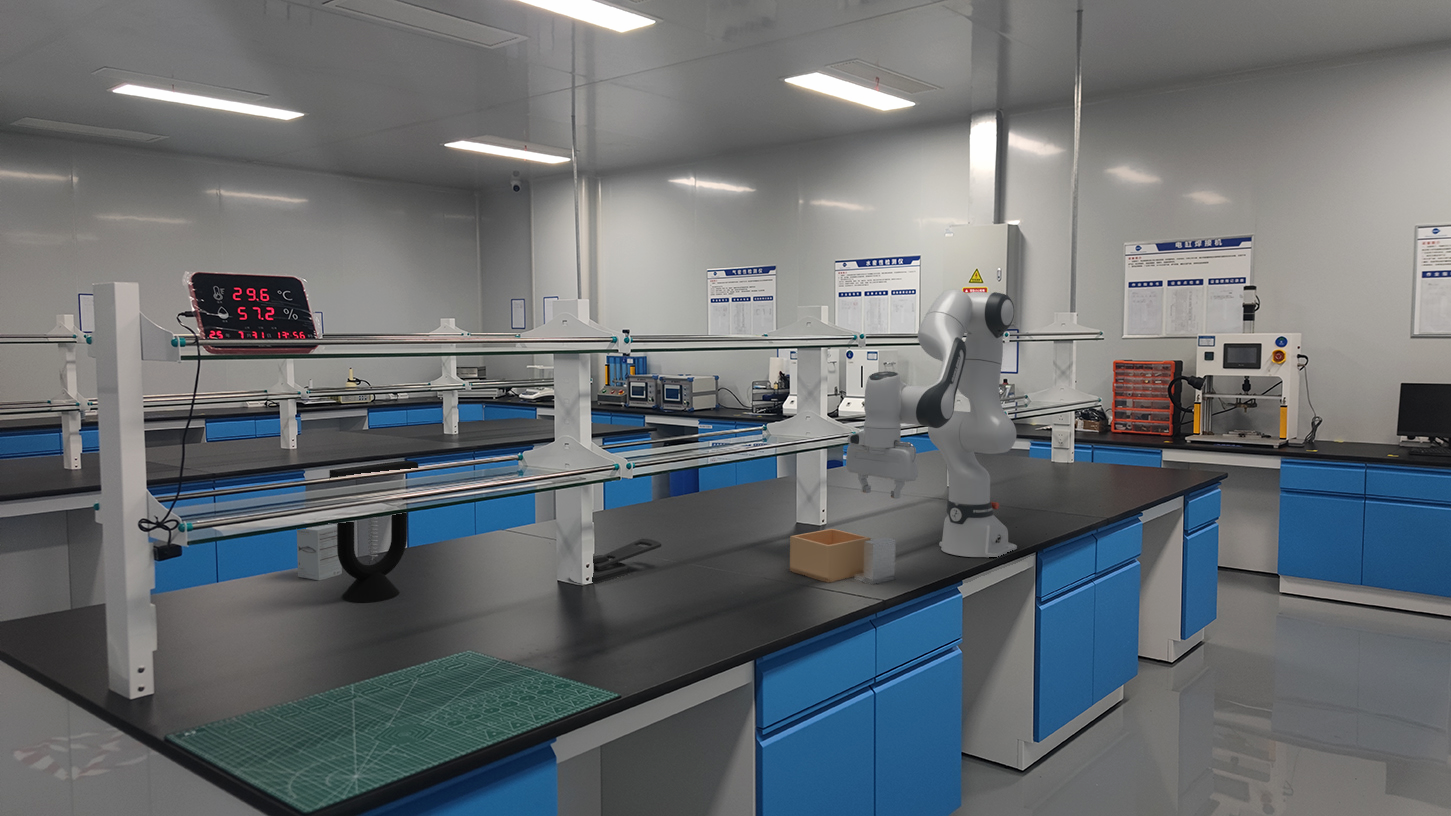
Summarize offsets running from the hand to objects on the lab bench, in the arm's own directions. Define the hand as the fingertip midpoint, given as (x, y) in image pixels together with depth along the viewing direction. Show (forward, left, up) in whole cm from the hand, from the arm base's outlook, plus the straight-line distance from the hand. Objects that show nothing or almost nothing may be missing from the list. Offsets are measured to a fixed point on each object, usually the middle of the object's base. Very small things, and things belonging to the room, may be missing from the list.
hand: (880, 495), depth 218 cm
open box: (+4, -13, -21) cm, 25 cm away
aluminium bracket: (0, -1, -21) cm, 21 cm away
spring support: (+101, -63, -21) cm, 121 cm away
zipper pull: (+47, -45, -22) cm, 69 cm away
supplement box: (+107, -87, -21) cm, 139 cm away
